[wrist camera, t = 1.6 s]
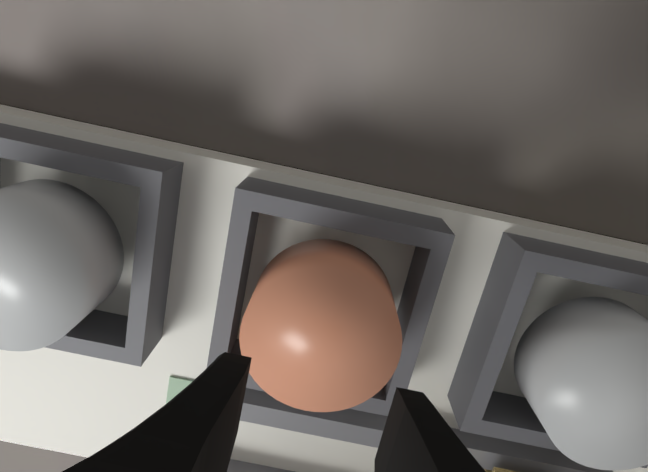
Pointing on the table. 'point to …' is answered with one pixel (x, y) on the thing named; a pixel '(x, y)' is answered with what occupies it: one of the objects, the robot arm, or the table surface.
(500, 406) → the panel
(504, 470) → the brass slider
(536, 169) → the table surface
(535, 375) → the grey button
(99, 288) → the grey button
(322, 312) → the terracotta button
